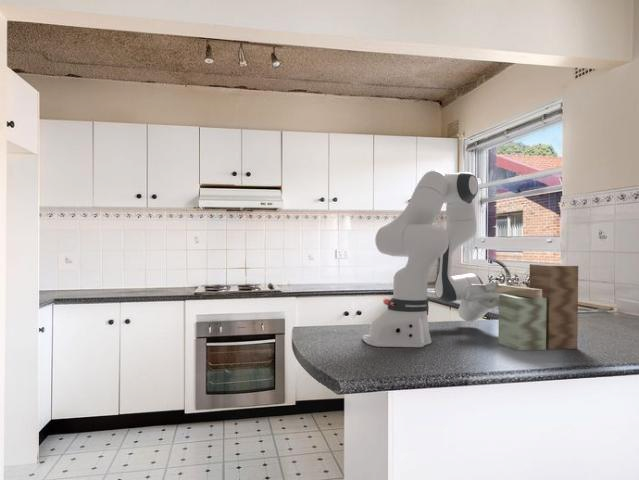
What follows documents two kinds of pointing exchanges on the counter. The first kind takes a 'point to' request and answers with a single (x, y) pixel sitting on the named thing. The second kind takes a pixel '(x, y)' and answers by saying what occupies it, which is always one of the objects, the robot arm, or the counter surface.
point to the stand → (542, 311)
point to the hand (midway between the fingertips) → (503, 282)
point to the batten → (519, 291)
